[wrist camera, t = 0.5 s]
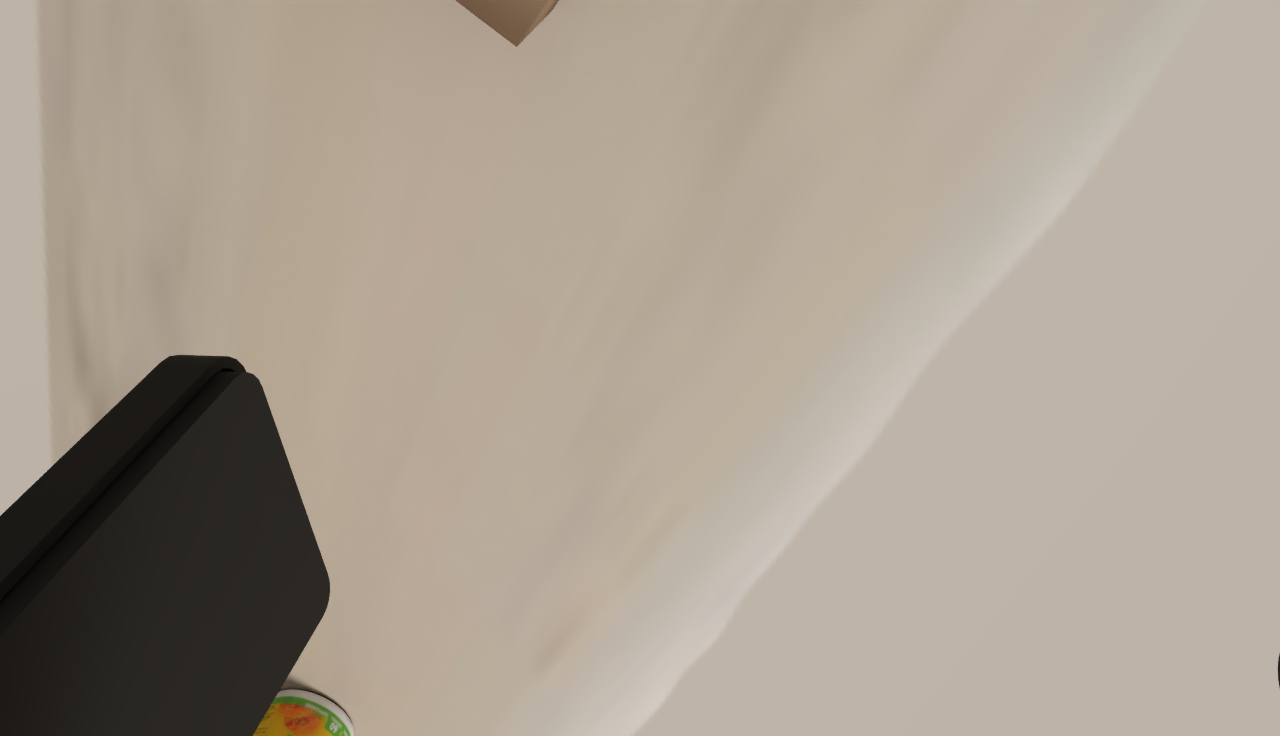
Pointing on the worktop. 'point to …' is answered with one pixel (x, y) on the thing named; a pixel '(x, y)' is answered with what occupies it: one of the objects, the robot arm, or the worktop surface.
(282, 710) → the supplement bottle
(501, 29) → the walnut base
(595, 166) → the worktop surface
